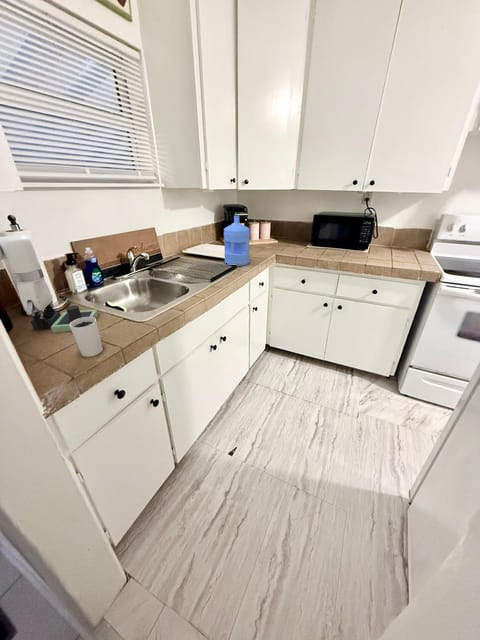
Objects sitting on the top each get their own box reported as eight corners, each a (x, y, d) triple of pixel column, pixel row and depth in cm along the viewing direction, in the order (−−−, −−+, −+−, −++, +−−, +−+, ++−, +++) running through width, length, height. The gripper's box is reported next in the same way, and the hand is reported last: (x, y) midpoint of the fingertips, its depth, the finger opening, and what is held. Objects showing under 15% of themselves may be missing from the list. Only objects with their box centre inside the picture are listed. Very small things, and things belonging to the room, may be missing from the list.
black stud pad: (59, 327, 90) (54, 313, 87) (68, 316, 97) (63, 303, 94) (85, 324, 91) (81, 311, 89) (92, 314, 98) (88, 301, 96)
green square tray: (52, 332, 88) (50, 327, 87) (65, 317, 98) (63, 312, 97) (89, 329, 90) (88, 323, 89) (98, 314, 100) (97, 309, 99)
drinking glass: (75, 352, 78) (64, 323, 73) (96, 342, 83) (88, 314, 78) (87, 360, 74) (76, 330, 70) (108, 349, 79) (100, 320, 75)
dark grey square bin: (34, 330, 90) (30, 321, 88) (42, 321, 95) (39, 313, 94) (55, 328, 91) (51, 319, 89) (62, 319, 97) (59, 311, 95)
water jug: (230, 258, 173) (230, 213, 160) (252, 261, 168) (254, 215, 155) (220, 264, 161) (218, 216, 147) (243, 267, 155) (244, 217, 142)
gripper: (29, 268, 91) (47, 314, 100) (0, 285, 76) (24, 337, 85) (53, 267, 93) (68, 312, 101) (28, 283, 78) (49, 334, 86)
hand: (48, 323), depth 93 cm, fingers closed on dark grey square bin, 6 cm apart
